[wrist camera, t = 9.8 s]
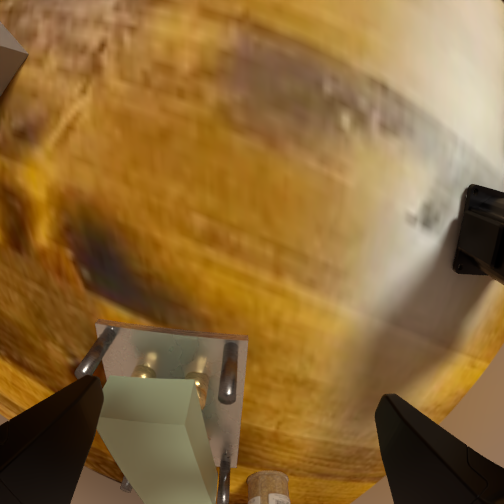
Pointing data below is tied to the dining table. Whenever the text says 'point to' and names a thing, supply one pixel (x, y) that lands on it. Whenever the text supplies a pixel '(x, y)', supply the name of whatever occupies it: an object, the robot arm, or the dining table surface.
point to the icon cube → (9, 57)
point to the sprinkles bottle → (268, 488)
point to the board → (159, 439)
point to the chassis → (182, 376)
